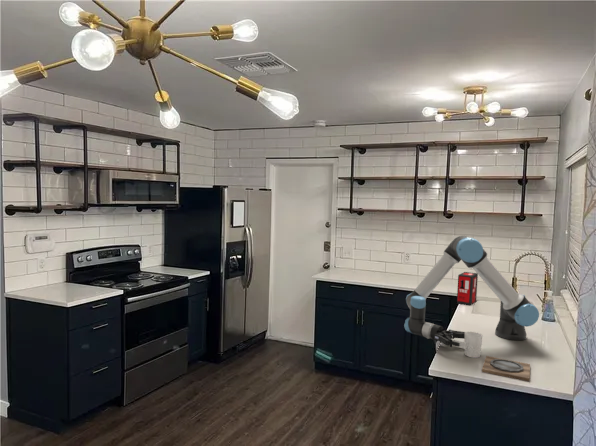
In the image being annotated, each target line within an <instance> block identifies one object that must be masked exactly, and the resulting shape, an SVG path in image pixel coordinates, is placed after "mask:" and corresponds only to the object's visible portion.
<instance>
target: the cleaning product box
mask: <svg viewBox="0 0 596 446" xmlns="http://www.w3.org/2000/svg"><path fill="white" fill-rule="evenodd" d="M478 279H479V275H478V274H477V273H476V272H468V271H464V272H461V273H460V274H458V276H457V291H456V292H457V294H456V305H457V304H458V305H463V306H469V307H471V306H472V305H474V304H475V303H476V302H477V295H478Z"/></svg>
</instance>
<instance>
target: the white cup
mask: <svg viewBox="0 0 596 446" xmlns="http://www.w3.org/2000/svg"><path fill="white" fill-rule="evenodd" d="M464 332H465V333H464V340H463V341H464V343H467V349H464V355H465V356H467V357H469V358H474V359H475V358H480V357H481V351H482V345H483V337H484V336H483V334H482V333H479V332H476V331H464Z"/></svg>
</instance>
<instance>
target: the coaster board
mask: <svg viewBox="0 0 596 446" xmlns="http://www.w3.org/2000/svg"><path fill="white" fill-rule="evenodd" d="M481 372H482V373H486V374H492V375H497V376H502V377H506V378H510V379H516V380H520V381H525V382H526V381H527V382H530V381H531V380H530V377H531V376H530V374H531V363H526V362H521V361H517V360H511V359H507V358H505V359H504V358H501V357H500V358H499V357H495V356H489V355H486V356H485V358H484V362H483V365H482V369H481Z"/></svg>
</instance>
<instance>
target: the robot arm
mask: <svg viewBox="0 0 596 446" xmlns="http://www.w3.org/2000/svg"><path fill="white" fill-rule="evenodd" d="M461 261H462V262H463V264H464V265H465V266H466V267H467V268H469V269H473V271H475V273H477V274H478V277H480V279H481V280H482V281H483V282H484V283H485V284H486V285H487V287H488V288H490V290H491V291H492V292H493V293H494V295H495V296H496V297H497V298H498V299H499V300H500V309H499V321H498V323H497V325H496V328H495V332H494V334H495V336H497V337H499V338H501V339H505V340H511V341H524V340H525V341H526V339H527V331H526V328H525V327H528V328H529V327H532V326H534V325H535V324H536V323H538V320H539V317H540V311H539V309H538V308H537V306H535V305H534V304H533V303H531V302H530V301H529V300H528V299H527V297H526V295H525V294H523V293H519V292H517V290H516V289H514V287H513V286H512V285H511V284H510V283H509V281H508V280H507V279H506V278H505V277H504V276H503V275H502V273H501V272H500V271H499V270H498V269H497V268H496V267H495V265H494V264H493V263H492V262H491V261H490V259H488V252H487V251H486V250H485V249H484V248H483V245H482V243H480V241H479V240H478V239H476V238H473V237H469V236H467V235H460V236H457V237H455V238H454V239H452V241H451V242H450V243H449V244H448V246H447V247H446V248H445V249H444V251H443V255H442V256H441V257H440V258H439V260H437V262H436V264H435V265H434V266H433V267H432V268H431V269H430V270H429V272H428V273H427V274H426V275H425V277H424V278H423V279H422V280H421V281H420V283H419V284H418V285H417V286H416V288H414V290H413V291H412V292H411V293H409V294H407V295H406V298H405V303H406V305H407V307H408V308H409V317H407V318H406V319H405V320H404V325H403V326H404V327H403V328H404V329H405V331H406V332H407V333H410V334H412V335H417V336H420V337H424V338H426V339H427V340H428V339H430V340H433V341H435V342H440V343H442V344H443V345H444V346H447V347H449V348H453V346H454V347H456V348H460V349H464V350H465V349H467V343H464V342H463V341H460V340H457V339H462V340H463V339H464V333H465V332H466V331H461V330H453V329H448V330H447V329H446V330H445V329H444V327H443V326H442V325H438V324H434V323H431V322H427V321H425V319H426V307H427V306H426V305H427V303H426V301H427V298H428V297H429V296H430V294H431V293H432V292H433V291H434V290H435V288H436V287H437V286H438V285H439V284H440V282H441V281H442V280H443V279H444V278H445V276H447V274H448V273H449V272H450V271H451V270H452V269H453V267H454V266H455V264H459V263H460V262H461Z"/></svg>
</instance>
